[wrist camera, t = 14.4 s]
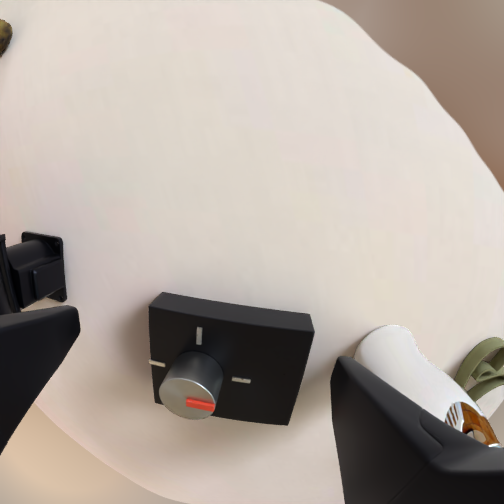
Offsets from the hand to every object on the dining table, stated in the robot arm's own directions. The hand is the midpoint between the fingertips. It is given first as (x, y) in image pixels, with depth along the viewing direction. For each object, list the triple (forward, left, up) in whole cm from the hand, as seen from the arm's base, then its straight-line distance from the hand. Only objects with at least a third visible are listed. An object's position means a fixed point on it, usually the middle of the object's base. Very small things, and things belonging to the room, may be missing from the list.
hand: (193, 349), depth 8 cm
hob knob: (-2, -9, -10) cm, 14 cm away
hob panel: (0, -9, -13) cm, 16 cm away
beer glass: (+14, -7, -13) cm, 20 cm away
